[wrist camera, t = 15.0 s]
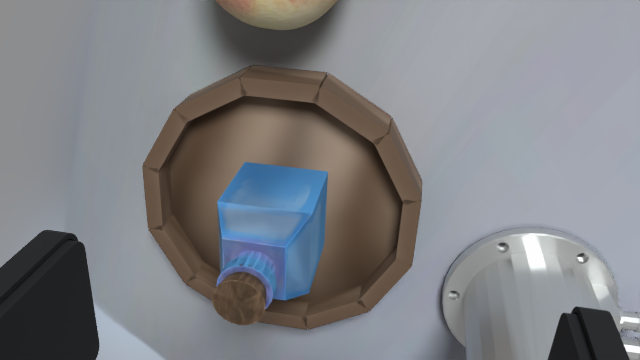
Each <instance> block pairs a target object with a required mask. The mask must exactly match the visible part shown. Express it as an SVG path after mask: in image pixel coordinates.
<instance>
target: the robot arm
mask: <svg viewBox="0 0 640 360" xmlns="http://www.w3.org/2000/svg"><path fill="white" fill-rule="evenodd" d="M500 243H502V244H500ZM580 253H581V254H580ZM442 304H443V312H444V317H445V320H446V322H447V325H448V327H449V329H450V330H451V332H452V334H453V335H454V337H455V338H456V339H457V340H458V341H459V342H460V343H461V344H462V345H463V346H464V347H465V348H466V360H640V338H638V337H635V338H630V337H623V336H620V334H619V332H620V331H621V329H626V330H633V331H634V332H640V312H635V313H633V312H626V311H623V310H622V308H621V307H619V296H618V288H617V285H616V282H615V280H614V277H613V275H612V273H611V271H610V269H609V267H608V265H607V263H606V262H605V261H604V259H603V258H602V257H601V256H600V255H599V254H598V252H597V251H595V250H594V249H593V248H592V247H590V246H589V245H588V244H586V243H585V242H583V241H581V240H579V239H577V238H575V237H573V236H571V235H569V234H566V233H563V232H559V231H556V230H552V229H544V228H536V227H535V228H516V229H510V230H505V231H501V232H498V233H495V234H492V235H490V236H487V237H485V238H483V239H481V240H479V241H478V242H476V243H474V244H472V245H471V246H470V247H469V248H467V249H466V250H465V251H464V252H463V253H462V254H460V256H459V257H458V258H457V259H456V261H455V262H454V263H453V264H452V266H451V268H450V270H449V272H448V274H447V276H446V278H445V282H444V286H443V296H442ZM98 351H99V338H98V331H97V326H96V318H95V311H94V305H93V298H92V292H91V285H90V278H89V272H88V265H87V259H86V252H85V247H84V245H83V243H81V242H78V239H77V237H76V236H75V235H74V234H72V233H66V232H59V231H52V230H44V231H42V232H41V233H39V234H38V235H37V236H36V237H35V238H34V239H33V240H31V241H30V242H29V243H28V244H27V245H26V246H25V247H23V248H22V249H21V250H20V251H19V252H18V253H17V254H15V255H14V256H13V257H12V258H11V259H10V260H9V261H7V262H6V263H5V264H4V265H3V266H2V267H1V268H0V360H96V357H97V355H98Z"/></svg>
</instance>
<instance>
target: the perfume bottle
mask: <svg viewBox="0 0 640 360" xmlns="http://www.w3.org/2000/svg"><path fill="white" fill-rule="evenodd" d="M327 184H328V171H319V170H311V169H302V168H293V167H284V166H276V165H267V164H258V163H250V162H244V164H243V165H242V167H241V168H240V170H239V171H238V173H237V174H236V175H235V177H234V178H233V180H232V181H231V183H230V184H229V186H228V187H227V188H226V190H225V191H224V193H223V194H222V196H221V197H220V199H219V200H218V201H217V204H218V229H219V254H220V275H219V277H218V279H217V286H216V288H215V290H214V291H213V295H212V302H213V306H214V308H215V309H216V311H217V313H218V314H219V315H220V316H221V317H223V318H224V319H225V320H227V321H229V322H231V323H234V324H238V325H249V324H253V323H255V322H257V321H258V320H260V319H261V317H262V316H263V315H264V311H265V309H266V308H267V307H268V306H269V304H270V303H271V302H272V299H279V300H288V299H291V298H294V297H298V296H301V295H304V294H308V293H309V291H310V288H311V285H312V282H313V279H314V275H315V272H316V269H317V266H318V263H319V259H320V256H321V253H322V250H323V247H324V239H325V221H326V202H327Z"/></svg>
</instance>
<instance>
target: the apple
mask: <svg viewBox="0 0 640 360" xmlns="http://www.w3.org/2000/svg"><path fill="white" fill-rule="evenodd" d="M215 1H216V2H217V3H218V4H219V5H220V6H221V7H222V8H224V9H225V10H226V11H227V12H229V13H230V14H231V15H233V16H234V17H236V18H237V19H239V20H241V21H243V22H244V23H247V24H249V25H252V26H256V27H261V28H267V29H274V30H291V29H296V28H300V27H302V26H305V25H307V24H310V23H312V22H314V21H315V20H317V19H318V18H320V17H321V16H322V15H324V14H325V13H326V12H327V11H328V10H329V9H330V8H331V7H332V6H333V5H334V4H335V3H336V2H337V1H338V0H215Z"/></svg>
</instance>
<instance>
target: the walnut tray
mask: <svg viewBox="0 0 640 360" xmlns="http://www.w3.org/2000/svg"><path fill="white" fill-rule="evenodd" d="M244 162H250V163H258V164H267V165H276V166H284V167H293V168H302V169H311V170H319V171H328V184H327V202H326V221H325V239H324V247H323V250H322V253H321V256H320V259H319V263H318V266H317V269H316V272H315V275H314V279H313V282H312V285H311V288H310V291H309V293H308V294H304V295H301V296H298V297H294V298H291V299H288V300H279V299H272V302H271V303H270V304H269V306H268V307H267V308H266V309H265V311H264V315H263V316H262V317H261V319H260V320H258V321H257V322H262V323H268V324H275V325H281V326H287V327H294V328H300V329H306V330H307V328H308V329H312V328H315V327H319V326H322V325H325V324H329V323H332V322H336V321H339V320H343V319H346V318H349V317H353V316H356V315H360V314H363V313H366V312H368V310H369V311H370V310H371V309H372V308H373V307H374V306H375V305H376V304H377V303H378V302H379V301H380V300H381V299H382V298H383V296H384V295H385V294H386V293H387V292H388V291H389V290H390V289H391V288H392V287H393V286H394V285H395V284H396V283H397V282H398V280H399V279H400V278H401V277H402V276H403V275H404V274H405V273H406V272H407V271H408V270H409V269H410V268H411V265H412V262H413V256H414V249H415V242H416V235H417V228H418V221H419V214H420V207H421V198H422V179H421V177H420V175H419V173H418V171H417V169H416V167H415V165H414V162H413V160H412V158H411V156H410V154H409V152H408V150H407V148H406V145H405V143H404V141H403V139H402V137H401V135H400V133H399V131H398V128H397V126H396V124H395V122H394V120H393V118H391V116H390V115H389V114H387V113H386V112H384V111H383V110H381V109H380V108H379V107H377V106H376V105H374V104H373V103H371V102H370V101H368V100H367V99H366V98H364V97H363V96H361V95H360V94H358V93H357V92H355V91H354V90H353V89H351V88H350V87H348V86H347V85H345V84H344V83H342V82H341V81H340V80H338V79H337V78H335V77H334V76H332V75H331V74H328V76H327V72H318V71H308V70H298V69H288V68H278V67H268V66H258V65H253V66H249V67H247V68H245V69H243V70H240V71H238V72H236V73H234V74H232V75H230V76H228V77H226V78H224V79H222V80H220V81H218V82H216V83H213V84H211V85H209V86H207V87H205V88H203V89H201V90H199V91H197V92H195V93H193V94H191V95H190V96H188V97H187V98H186V99H185V100H184V101H183V102H181V103H180V104H179V105H178V106H177V107H176V108H175V109H173V111H172V113H171V115H170V116H169V118H168V120H167V122H166V124H165V125H164V127H163V129H162V131H161V133H160V134H159V136H158V138H157V140H156V142H155V144H154V145H153V147H152V149H151V151H150V153H149V154H148V156H147V158H146V160H145V162H144V163H143V166H142V167H143V178H144V189H145V200H146V211H147V221H148V228H150V229H149V231H150V232H151V234H152V235H153V237H154V238H155V240H156V241H157V243H158V244H159V246H160V247H161V249H162V250H163V252H164V253H165V255H166V256H167V258H168V259H169V261H170V262H171V264H172V265H173V267H174V268H175V270H176V271H177V273H178V274H179V276H180V277H181V279H182V280H183V282H184V283H185V282H187V283H186V285H188V286H189V287H191V288H193V289H194V290H196V291H197V292H199V293H201V294H202V295H204V296H205V297H207V298H209V299H210V300H212V295H213V291H214V290H215V288H216V286H217V279H218V277H219V275H220V254H219V229H218V204H217V201H218V200H219V199H220V197H221V196H222V194H223V193H224V191H225V190H226V188H227V187H228V186H229V184H230V183H231V181H232V180H233V178H234V177H235V175H236V174H237V173H238V171H239V170H240V168H241V167H242V165H243V164H244Z"/></svg>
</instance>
